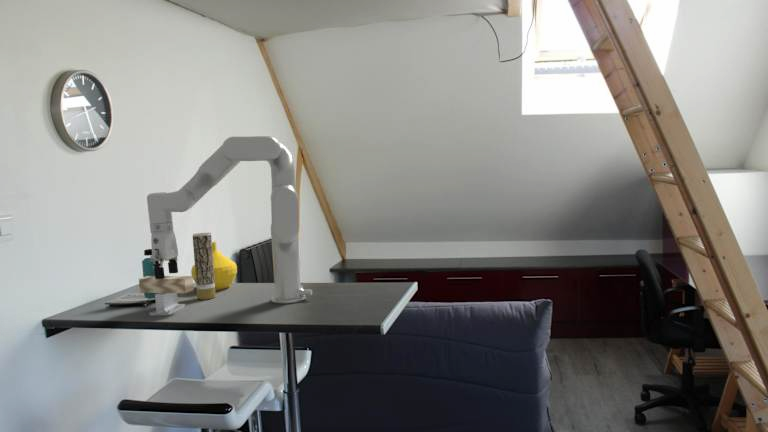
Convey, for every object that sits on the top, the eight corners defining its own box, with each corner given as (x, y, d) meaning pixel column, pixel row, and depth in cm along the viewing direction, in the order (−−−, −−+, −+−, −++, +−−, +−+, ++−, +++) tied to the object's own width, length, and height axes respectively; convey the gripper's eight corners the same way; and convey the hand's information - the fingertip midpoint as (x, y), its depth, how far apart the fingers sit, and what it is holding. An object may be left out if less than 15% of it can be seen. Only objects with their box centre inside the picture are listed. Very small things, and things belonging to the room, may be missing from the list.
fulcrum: (184, 306, 213) (183, 287, 213) (168, 315, 201) (167, 295, 201) (166, 306, 214) (165, 287, 214) (149, 315, 202) (148, 295, 202)
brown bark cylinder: (210, 300, 222) (205, 234, 220) (193, 300, 223) (189, 235, 221) (218, 296, 228) (214, 232, 226) (202, 296, 230) (198, 232, 228)
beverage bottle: (143, 303, 221) (139, 251, 220) (145, 299, 228) (141, 248, 226) (161, 301, 223) (157, 249, 221) (163, 298, 229) (159, 247, 228)
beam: (193, 290, 208) (192, 276, 207) (185, 293, 203) (184, 279, 202) (148, 289, 212) (147, 276, 211) (140, 292, 207) (138, 278, 206)
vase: (182, 292, 239) (179, 245, 238) (212, 282, 256) (209, 239, 254) (219, 294, 232) (215, 246, 230) (247, 284, 249) (244, 239, 247)
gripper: (159, 230, 196) (164, 280, 198) (183, 224, 213) (188, 270, 215) (138, 231, 197) (144, 281, 199) (163, 225, 214) (168, 271, 216)
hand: (167, 275), depth 207 cm, fingers open, 9 cm apart
